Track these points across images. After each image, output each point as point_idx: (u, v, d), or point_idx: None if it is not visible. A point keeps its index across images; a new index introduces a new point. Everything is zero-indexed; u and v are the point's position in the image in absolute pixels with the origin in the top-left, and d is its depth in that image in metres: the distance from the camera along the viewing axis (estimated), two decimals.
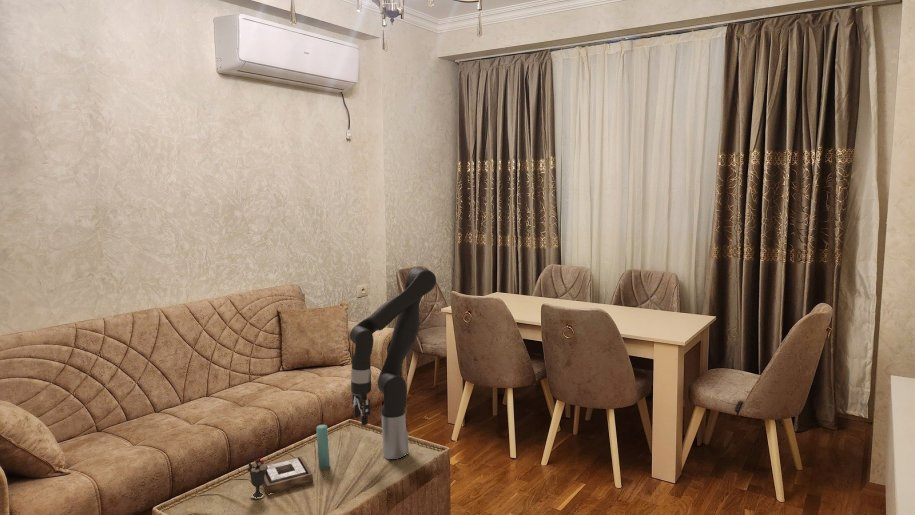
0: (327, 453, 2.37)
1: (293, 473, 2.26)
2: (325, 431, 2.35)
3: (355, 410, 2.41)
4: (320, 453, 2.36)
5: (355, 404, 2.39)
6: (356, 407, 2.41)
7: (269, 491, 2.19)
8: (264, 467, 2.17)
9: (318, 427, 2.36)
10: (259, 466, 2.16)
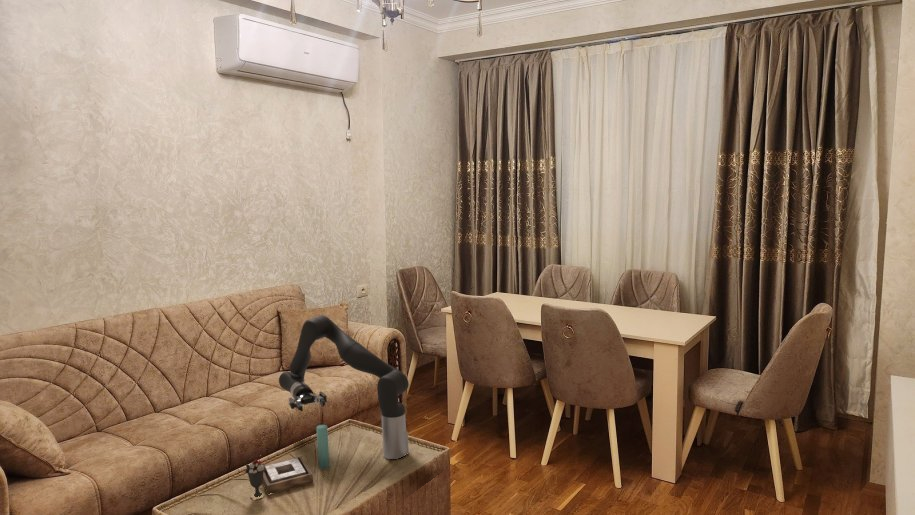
0: (327, 453, 2.37)
1: (293, 473, 2.26)
2: (325, 431, 2.35)
3: (320, 403, 2.49)
4: (320, 453, 2.36)
5: (316, 402, 2.51)
6: (320, 401, 2.50)
7: (269, 491, 2.19)
8: (262, 468, 2.16)
9: (318, 427, 2.36)
10: (256, 467, 2.16)
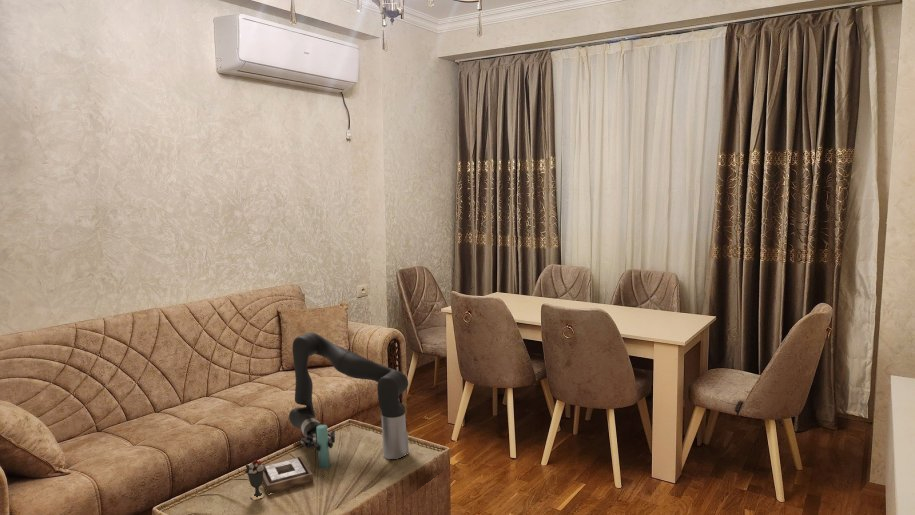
0: (327, 453, 2.37)
1: (293, 473, 2.26)
2: (325, 431, 2.35)
3: (328, 445, 2.38)
4: (320, 453, 2.36)
5: None
6: None
7: (269, 491, 2.19)
8: (261, 468, 2.16)
9: (318, 427, 2.36)
10: (256, 467, 2.16)
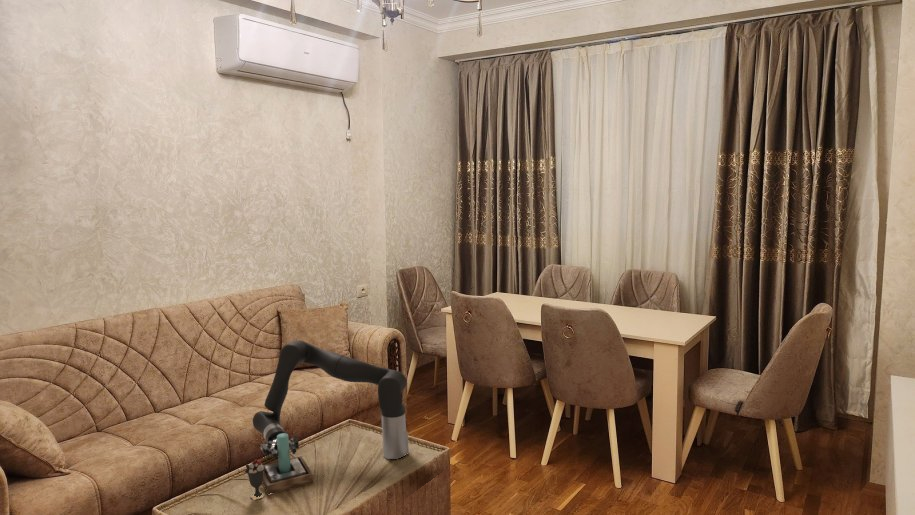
0: (288, 463, 2.28)
1: (293, 473, 2.26)
2: (286, 440, 2.26)
3: (291, 450, 2.30)
4: (281, 463, 2.27)
5: None
6: (291, 448, 2.31)
7: (269, 491, 2.19)
8: (261, 468, 2.16)
9: (278, 436, 2.27)
10: (256, 467, 2.16)
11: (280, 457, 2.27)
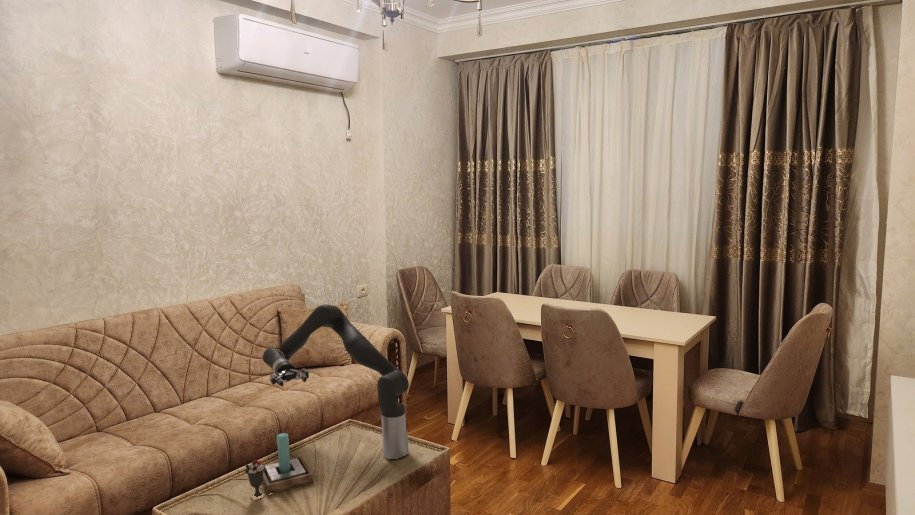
0: (288, 462, 2.28)
1: (293, 473, 2.26)
2: (286, 440, 2.26)
3: (302, 379, 2.44)
4: (281, 463, 2.27)
5: (298, 378, 2.46)
6: (301, 377, 2.44)
7: (269, 491, 2.19)
8: (261, 468, 2.16)
9: (278, 436, 2.27)
10: (256, 467, 2.16)
11: (280, 457, 2.27)
